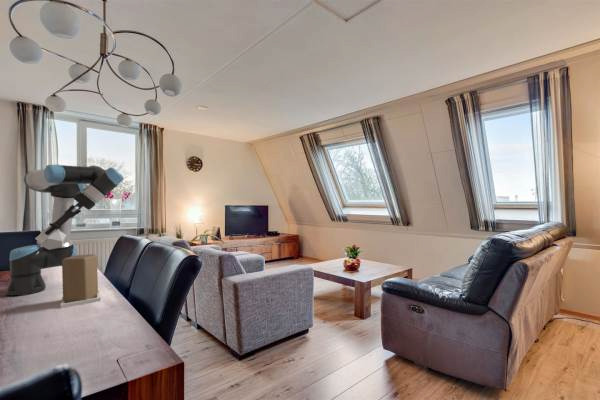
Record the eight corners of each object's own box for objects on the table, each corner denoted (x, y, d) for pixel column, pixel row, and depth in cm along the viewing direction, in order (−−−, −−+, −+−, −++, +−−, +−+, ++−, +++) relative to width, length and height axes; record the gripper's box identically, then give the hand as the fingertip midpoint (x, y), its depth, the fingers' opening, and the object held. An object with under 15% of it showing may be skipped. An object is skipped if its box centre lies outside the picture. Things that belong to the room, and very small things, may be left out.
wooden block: (76, 297, 142) (75, 254, 143) (99, 295, 143) (97, 253, 143) (62, 304, 133) (60, 258, 133) (86, 302, 133) (84, 257, 133)
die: (68, 249, 120) (72, 228, 125) (46, 242, 113) (51, 220, 118) (52, 256, 121) (57, 236, 126) (29, 249, 114) (35, 228, 119)
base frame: (62, 300, 140) (62, 296, 140) (99, 293, 148) (99, 290, 148) (60, 308, 128) (60, 304, 128) (100, 300, 136) (100, 297, 136)
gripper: (80, 192, 133) (33, 231, 124) (80, 190, 116) (26, 235, 107) (95, 203, 136) (50, 243, 127) (97, 203, 120) (46, 248, 110)
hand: (39, 239), depth 117 cm, fingers closed on die, 8 cm apart
